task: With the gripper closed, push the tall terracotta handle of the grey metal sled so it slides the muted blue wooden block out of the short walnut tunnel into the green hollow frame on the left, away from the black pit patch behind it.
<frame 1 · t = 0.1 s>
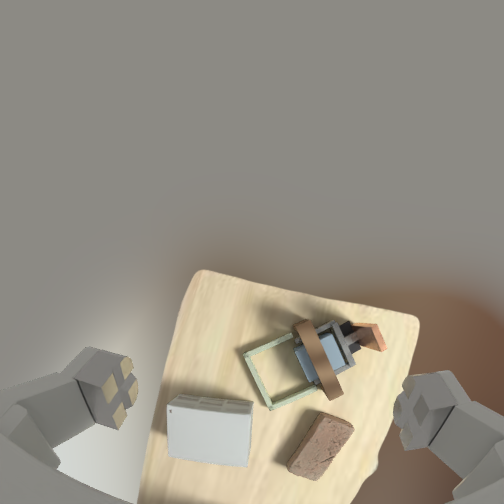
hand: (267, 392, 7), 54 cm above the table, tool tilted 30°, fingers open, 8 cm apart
green hollow frame: (280, 371, 58), on the table
sled: (339, 350, 51), point 7 cm above the table, slide at 0.0 cm
supplement box: (215, 422, 56), on the table
brick: (318, 444, 54), on the table
pit: (349, 338, 58), on the table
block: (316, 354, 58), on the table
tunnel: (314, 355, 58), on the table
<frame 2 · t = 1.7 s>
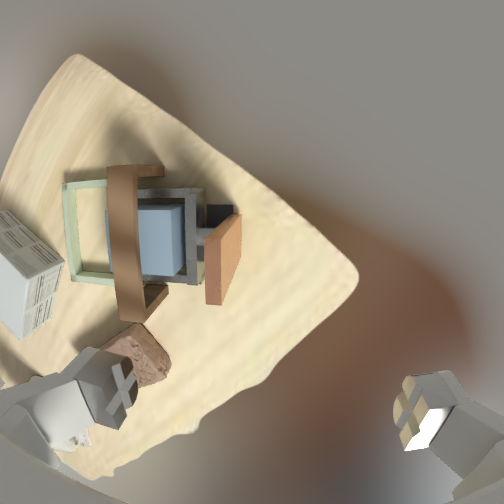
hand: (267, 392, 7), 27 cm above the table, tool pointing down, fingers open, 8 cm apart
green hollow frame: (102, 231, 35), on the table
sled: (165, 247, 28), point 7 cm above the table, slide at 0.0 cm
supplement box: (28, 264, 38), on the table
brick: (126, 358, 41), on the table
pit: (219, 234, 34), on the table
block: (158, 231, 35), on the table
tunnel: (154, 232, 35), on the table
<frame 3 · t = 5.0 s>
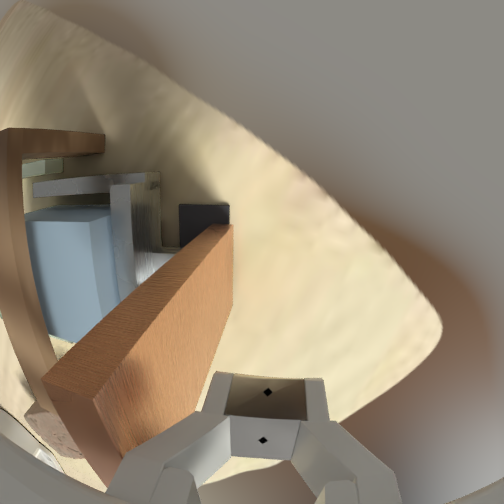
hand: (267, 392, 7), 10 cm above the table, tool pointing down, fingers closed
green hollow frame: (27, 248, 19), on the table
sled: (66, 303, 11), point 7 cm above the table, slide at 0.8 cm, touching gripper
brick: (84, 415, 25), on the table
pit: (204, 261, 18), on the table
block: (99, 253, 18), on the table
tunnel: (93, 253, 18), on the table
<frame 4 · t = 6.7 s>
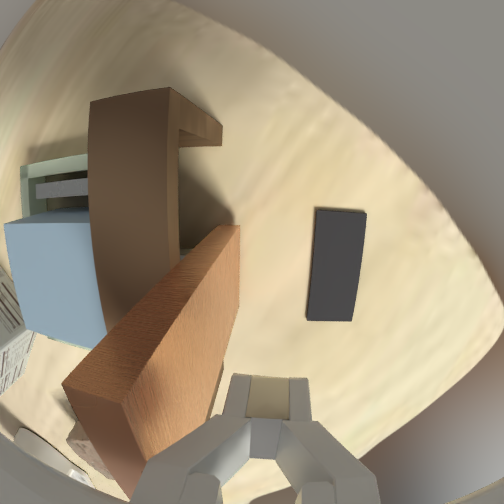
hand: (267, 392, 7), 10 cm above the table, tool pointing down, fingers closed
green hollow frame: (92, 255, 18), on the table
sled: (72, 305, 11), point 7 cm above the table, slide at 8.4 cm, touching gripper, tunnel
brick: (141, 435, 25), on the table
pit: (336, 269, 17), on the table
block: (105, 255, 18), on the table
tunnel: (197, 262, 18), on the table
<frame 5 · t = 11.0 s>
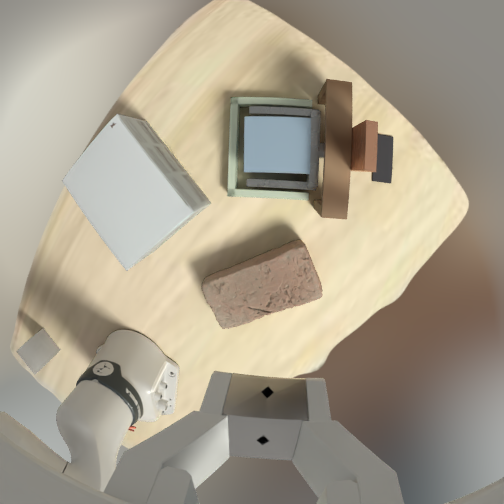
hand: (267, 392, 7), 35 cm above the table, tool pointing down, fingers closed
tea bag: (50, 341, 54), on the table
green hollow frame: (270, 147, 39), on the table
sled: (302, 144, 31), point 7 cm above the table, slide at 8.4 cm
supplement box: (148, 187, 42), on the table
brick: (262, 280, 45), on the table
pit: (382, 158, 37), on the table
block: (277, 148, 39), on the table
tunnel: (327, 151, 38), on the table
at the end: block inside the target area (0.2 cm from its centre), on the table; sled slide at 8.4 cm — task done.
